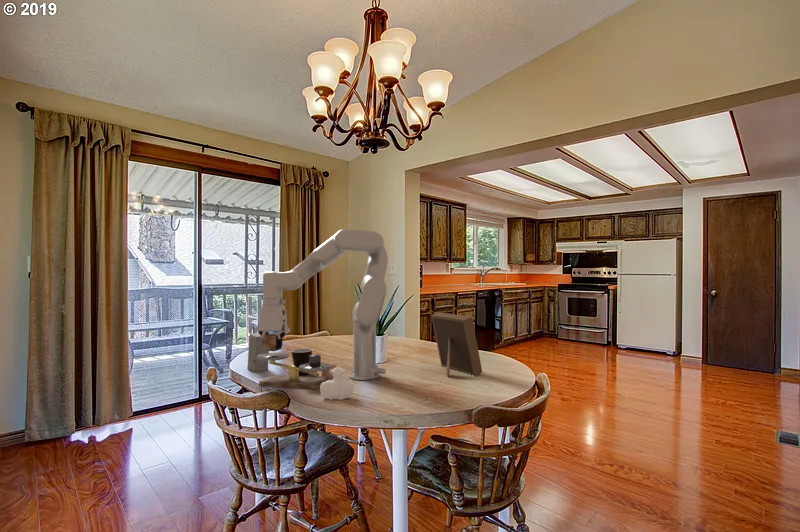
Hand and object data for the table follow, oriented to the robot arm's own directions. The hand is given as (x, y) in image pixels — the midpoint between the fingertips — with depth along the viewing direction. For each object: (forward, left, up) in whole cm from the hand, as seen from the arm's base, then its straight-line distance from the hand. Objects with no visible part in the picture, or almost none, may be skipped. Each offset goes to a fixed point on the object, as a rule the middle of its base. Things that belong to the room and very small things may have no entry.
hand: (272, 347), depth 160 cm
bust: (-32, +12, -14) cm, 37 cm away
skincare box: (+17, -17, -14) cm, 28 cm away
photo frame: (-68, -31, -14) cm, 76 cm away
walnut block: (0, 0, -1) cm, 1 cm away
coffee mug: (-5, -16, -14) cm, 22 cm away
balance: (-9, 0, -12) cm, 15 cm away
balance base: (-9, 0, -14) cm, 16 cm away
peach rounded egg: (-20, -9, -14) cm, 26 cm away
